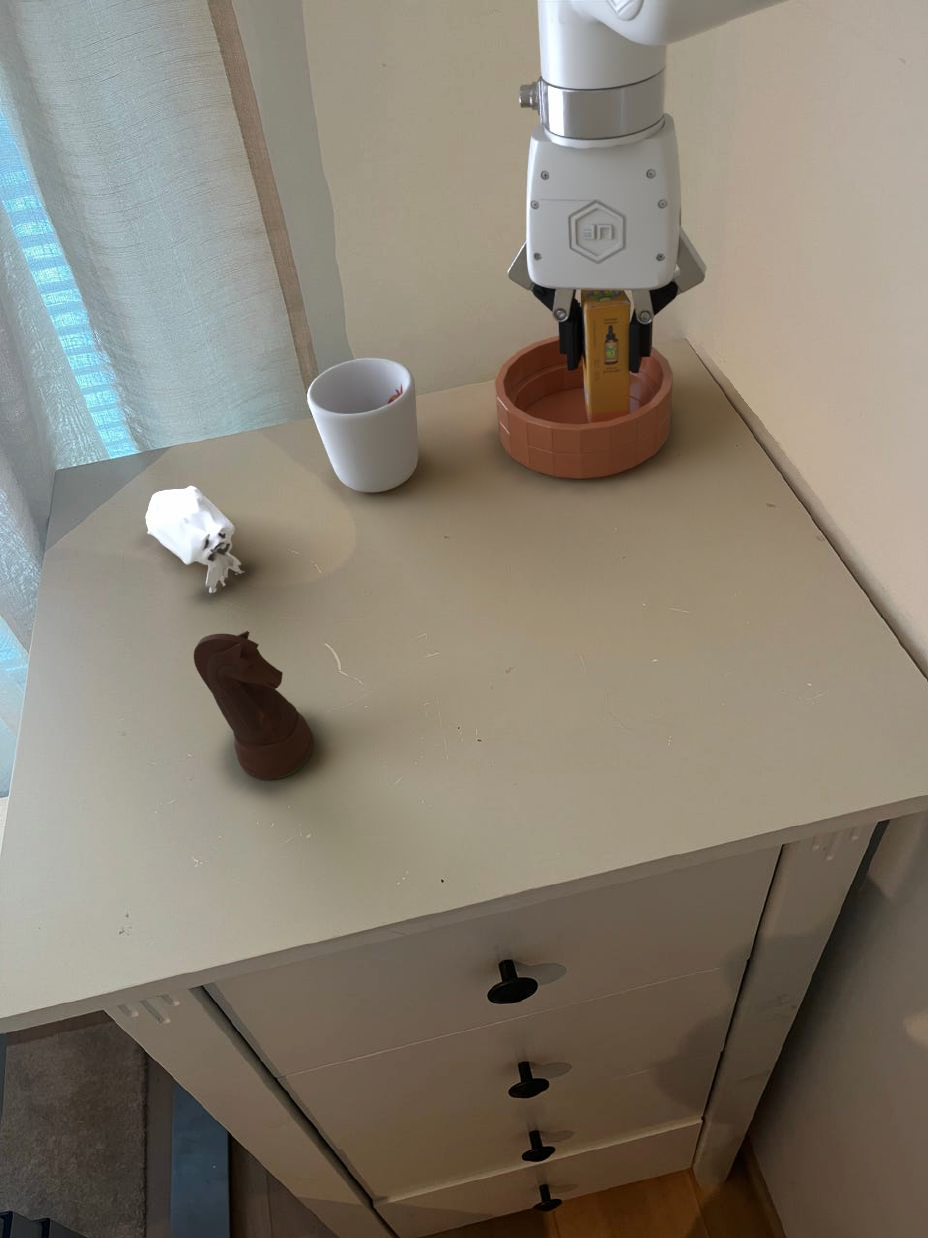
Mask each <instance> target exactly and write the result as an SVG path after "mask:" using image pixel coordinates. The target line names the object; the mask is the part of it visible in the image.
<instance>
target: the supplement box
mask: <svg viewBox="0 0 928 1238" xmlns="http://www.w3.org/2000/svg"><path fill="white" fill-rule="evenodd" d="M625 291H626V290H580V306H581V317H582V344H583V372H584V394H585V407H586V412H587V417H588V422H589V423H595V422H603V421H610V420H613V419H616V418H619V417H622V416H625V415H628V414H630V371H629V325H630V321H631V308H632V302H631V300H630V298H629V297H628V295H627V293H626V292H625Z"/></svg>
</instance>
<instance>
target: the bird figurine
mask: <svg viewBox="0 0 928 1238" xmlns="http://www.w3.org/2000/svg"><path fill="white" fill-rule="evenodd" d="M145 522H146V527H147V530H148V531H147V532H146V534H148V535H151V536H153V537H154V538H156V539H157V540H158V541H159V542H160V544H161V545H162V546H163V547H164V548H167V549H168V550H169V551H170V552H171V553H173V555H175V556H177V557H178V558H179V559H180V560H181V561H182V562H183V563H184V565H186V566H187V565H188V566H189V565H191V564H193V563H195V562H198V563H200V564H202V565H206V566H207V574H206V580H205V587H209V589H208V592H209V593H211V594H212V593H213V594H214V593H216V592H217V588H216V587H217V584H218V582H220V584H222V587H225V586H226V583H225V579H226V578H228V577H229V576H228V575H229V573H228V571H229V569H230V570H232V571H234V572H235V573H234V575H238V574H242V573H245V570H244V571H243V570H241V569H240V567H239V566H242V562H241V561H240V560H239V559H238V558H237V557H235V555H233V554H231V553H230V551H231V550H232V548H233V543H232V539H231V538H232V535H233V534H235V531H236V526H235V525H233V523H232V522H231V521H230V520H229V519H228V517H227V516H226V515H225V514H224V513H223V512H221V511H220V509H218V508H217V507H216V505H214V504H213V502H211V500H209V499H208V498H207V497H206V496H205V495H204V494H203V493H202V492H201V490H199V489H198V488H197V487H195V486H193V485H189V486H188V487H187V488H177V489H165V490H161V491H157V492H155V493H154V494H153V495H152V496H151V500H150V502H149V504H148V509H147V511H146V514H145Z"/></svg>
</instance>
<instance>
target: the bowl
mask: <svg viewBox="0 0 928 1238" xmlns="http://www.w3.org/2000/svg"><path fill="white" fill-rule="evenodd" d="M673 386H674V372H673V370H672V367H671V364H670V362H669V360H668V358H666V356H664V355H663V354H662V353H661V352H660V351H659V350H657V348H655V347H654V346H652V349H651V355H650V357H642V361H641V365H640V369H639V373H631V371H630V414H628V415H625V416H622V417H619V418H616V419H613V420H610V421H603V422H595V423H589V422H588V417H587V412H586V407H585V394H584V372H583V354H582V357H581V360H580V363H579V366H578V369H575V371H570V370H568V369H567V354H560V346H559V335H555V336H552V337H551V336H550V337H548V338H545V339H541V340H539V341H535V342H533V343H530V344H529V345H527V346H525V347H523V348H521V349H520V350H518V351H516V352H515V353H513V354H512V355H511V356H510V357H509V358H508V359H507V360H506V361H505V362H504V363H503V364H502V365H501V366H500V368H499V370H498V372H497V375H496V377H495V379H494V391H495V400H496V401H495V402H496V412H497V421H498V430H499V439H500V443H501V446H503V448H504V449H505V451H506V452H507V453H508V455H510V457H511V458H512V459H513V460H515V461H517V462H518V463H520V464H522V465H523V466H525V467H526V468H527V469H530V470H532V471H536V472H539V473H540V474H544V475H547V476H550V477H555V478H561V479H570V480H571V479H572V480H588V479H589V480H590V479H599V478H605V477H610V476H613V475H616V474H619V473H623V472H625V471H627V470H630V469H632V468H635V467H637V466H638V465H640V464H642V463H644V462H645V461H647V460H649V458H652V457H653V456H654V455H656V453H658V452H659V450H660V449H661V447H662V446H663V445H664V444H665V442H666V441H667V440H668V438H669V434H670V430H671V429H670V428H671V423H672V409H673V407H672V405H673V388H674V387H673Z"/></svg>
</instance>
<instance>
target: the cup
mask: <svg viewBox="0 0 928 1238" xmlns="http://www.w3.org/2000/svg"><path fill="white" fill-rule="evenodd" d="M306 399H307V405H308V407H309V411H310V412H311V415H312V417H313V420H314V422H315V425H316V428H317V430H318V434H319V436H320V438H321V440H322V443H323V446H324V449H325V451H326V453H327V456H328V459H329V461H330V464H331V466H332V468H333V470H334V472H335V474H336V476H337V478H338V479H339V480H340V481H341V482H342V484H343V485H345V486H346V487H348V488H349V489H350V490H354V491H357V492H360V493H371V494H372V493H381V492H386V491H390V490H392V489H395V488H396V487H398V486H401V485H402V484H404V483H405V482H407V480H409V478H410V477H411V476H412V475H413V474H414V472H415V470H416V468H417V464H418V461H419V439H418V437H419V434H418V417H417V399H416V383H415V378H414V376H413V374H412V372H411V371H410V369H409V368H407V367H406V366H405V365H403V364H402V363H400V362H398V361H395V360H392V359H388V358H383V357H365V358H357V359H352V360H347V361H345V362H341V363H338V364H335V365H334V366H331V367H330V368H328V369H326V370H324V371H323V372H322V373H320V374H319V375H318V376H317V377H315V379H314V380H313V381H312V383H311V384H310V386H309V388H308V390H307V397H306Z"/></svg>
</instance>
